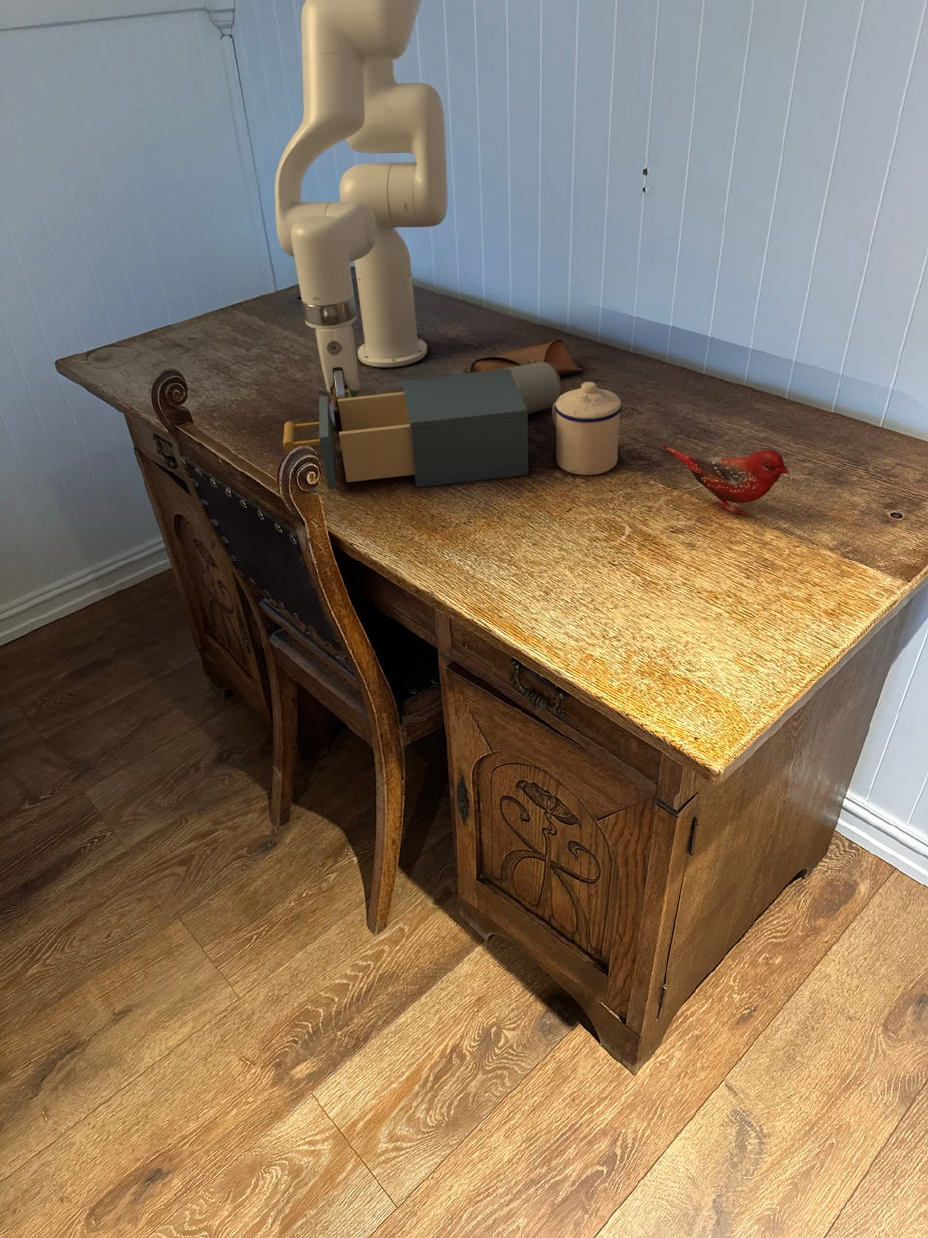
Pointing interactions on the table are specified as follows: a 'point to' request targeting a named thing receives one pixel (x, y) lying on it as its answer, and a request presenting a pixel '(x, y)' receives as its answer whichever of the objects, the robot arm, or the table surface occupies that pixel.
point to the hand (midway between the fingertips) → (347, 421)
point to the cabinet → (467, 427)
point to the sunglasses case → (531, 359)
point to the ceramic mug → (537, 385)
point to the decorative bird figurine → (735, 475)
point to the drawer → (362, 437)
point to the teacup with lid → (587, 430)
